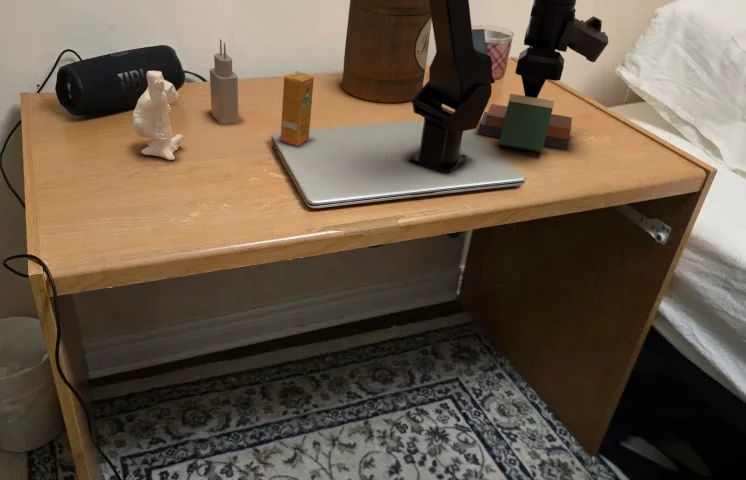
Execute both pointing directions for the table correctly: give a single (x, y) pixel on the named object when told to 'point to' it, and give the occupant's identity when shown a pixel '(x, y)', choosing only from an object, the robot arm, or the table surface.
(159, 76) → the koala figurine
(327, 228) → the table surface
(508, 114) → the tea box
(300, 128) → the supplement box
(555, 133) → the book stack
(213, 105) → the power adapter
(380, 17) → the wooden container
